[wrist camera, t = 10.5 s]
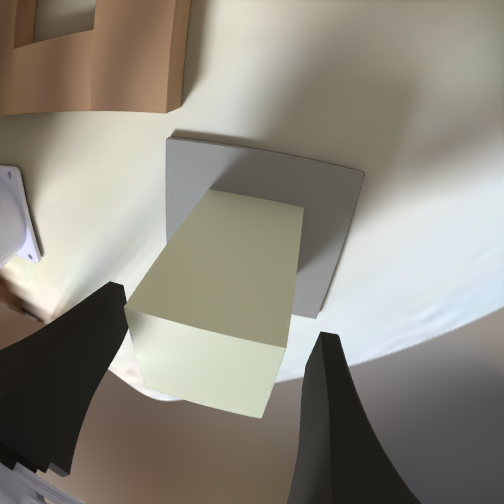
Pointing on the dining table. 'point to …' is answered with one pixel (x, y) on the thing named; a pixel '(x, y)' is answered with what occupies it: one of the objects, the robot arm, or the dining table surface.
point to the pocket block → (95, 59)
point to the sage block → (219, 303)
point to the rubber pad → (275, 189)
